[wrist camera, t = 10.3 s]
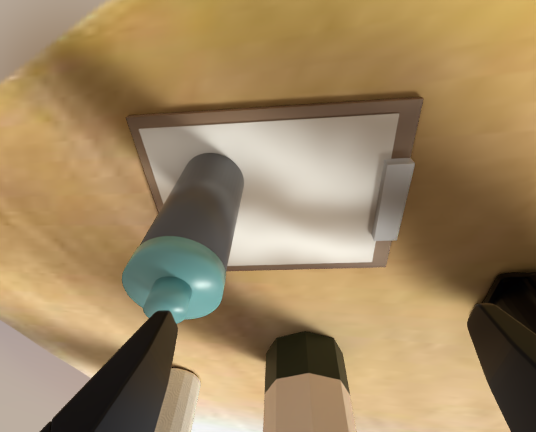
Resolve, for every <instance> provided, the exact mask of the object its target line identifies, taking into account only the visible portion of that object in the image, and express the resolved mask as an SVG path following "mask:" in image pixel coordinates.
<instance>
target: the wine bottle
mask: <svg viewBox="0 0 536 432" xmlns="http://www.w3.org/2000/svg"><path fill="white" fill-rule="evenodd" d="M263 432H357V431H356V426H355V420H354V414H353V409H352V403H351V398H350V392H349V387H348V381H347V375H346V370H345V364H344V359H343V354H342V352H341V350H340V348H339V347H338V345H337V343H336V341H335V340H334V338H330V337H326V336H322V335H318V334H314V333H310V332H306V331H305V332H300V333H296V334H292V335H288V336H283V337H279V338H276V340H275V341H274V343H273V344H272V346H271V347H270V349H269V350H268V351H267V353H266V373H265V399H264V424H263Z"/></svg>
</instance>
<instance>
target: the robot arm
mask: <svg viewBox="0 0 536 432" xmlns="http://www.w3.org/2000/svg"><path fill="white" fill-rule="evenodd" d="M467 327H468V330H469V333H470V336H471V339H472V342H473V344H474V347H475V350H476V353H477V355H478V358H479V361H480V364H481V366H482V369H483V372H484V375H485V377H486V380H487V382H488V384H489V387H490V389H491V391H492V393H493V395H494V397H495V399H496V402H497V404H498V406H499V408H500V410H501V412H502V414H503V416H504V418H505V420H506V422H507V424H508V426H509V428H510V431H511V432H536V272H533V273H503V274H500V275H499V276H498V277H497V278H496V280H495V282H494V284H493V285H492V287H491V289H490V291H489V293H488V295H487V296H486V298H485V300H484V302H483V303H479V304H476V305H475V306H474V308H473V310H472V312H471V314H470V316H469V319H468V321H467ZM177 333H178V328H177V324H176V322H175V320H174V317H173V315H172V313H171V312H170V311H169V310H159V311H156V312H155V313H154V314H153V315H152V316H151V317H150V318H149V319H148V320H147V321H146V322H145V323H144V324H143V325H142V326H141V327H140V328H139V329H138V330H137V331H136V332H135V333H134V335H133V336H132V337H131V338H130V339H129V340H128V341H127V342H126V343H125V344H124V345H123V346H122V347H121V348H120V349H119V350H118V351H117V352H116V353H115V354H114V355H113V356H112V357H111V358H110V359H109V360H108V362H107V363H106V364H105V365H104V366H103V367H102V368H101V369H100V370H99V371H98V372H97V373H96V374H95V375H94V376H93V377H92V378H91V379H90V380H89V381H88V382H87V383H86V384H85V385H84V387H83V388H82V389H81V390H80V391H79V392H78V393H77V394H76V395H75V396H74V397H73V398H72V399H71V400H70V401H69V402H68V403H67V404H66V405H65V406H64V407H63V408H62V409H61V411H59V413H57V414H56V416H55V417H54V418H53V419H52V422H49V423H48V424H47V425H46V426H45V427H44V428H43V429H42V430H41V431H40V432H155V428H156V425H157V421H158V418H159V414H160V411H161V407H162V404H163V400H164V397H165V393H166V390H167V386H168V382H169V377H170V372H171V367H172V361H173V355H174V350H175V344H176V339H177Z"/></svg>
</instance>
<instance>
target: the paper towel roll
mask: <svg viewBox="0 0 536 432" xmlns="http://www.w3.org/2000/svg"><path fill="white" fill-rule="evenodd" d="M200 386H201V383H200V380H199V378H198V377H197V376H196V375H195V374H193V373H191V372H189V371H186V370H183V369H178V368H171V372H170V377H169V382H168V386H167V390H166V393H165V397H164V400H163V404H162V407H161V411H160V414H159V418H158V421H157V425H156V428H155V432H191V429H192V424H193V419H194V414H195V410H196V405H197V400H198V395H199V390H200Z"/></svg>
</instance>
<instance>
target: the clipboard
mask: <svg viewBox="0 0 536 432" xmlns="http://www.w3.org/2000/svg"><path fill="white" fill-rule="evenodd" d="M422 104H423V98H422V97H413V98H397V99H382V100H366V101H350V102H335V103H319V104H303V105H287V106H272V107H256V108H240V109H225V110H209V111H193V112H178V113H162V114H146V115H130V116H127V117H126V120H127V123H128V126H129V129H130V132H131V134H132V137H133V140H134V143H135V146H136V149H137V152H138V154H139V157H140V160H141V163H142V166H143V169H144V172H145V175H146V177H147V180H148V183H149V186H150V189H151V192H152V195H153V198H154V200H155V203H156V206H157V209H158V212H160V210H161V208H162V206H163V205H164V203H165V201H166V200H167V198H168V196H169V194H170V193H171V191H172V189H173V187H174V186H175V184H176V182H177V181H178V179H179V177H180V175H181V174H182V172H183V170H184V169H185V167H186V165H187V164H188V162H189V161H190V160H191V159H192V158H194V157H195V156H197V155H200V154H204V153H217V154H221V155H223V156H226V157H228V158H229V159H231V160H232V161H233V162H234V163H235V164H236V165H237V166H238V167H239V168H240V170H241V172H242V174H243V178H244V188H243V193H242V198H241V202H240V207H239V212H238V217H237V222H236V227H235V231H234V236H233V241H232V246H231V251H230V256H229V260H228V265H227V270H226V271H254V270H293V269H332V268H371V267H386V264H387V259H388V255H389V251H390V246H391V242H392V240H397V238H398V233H399V229H400V225H401V221H402V217H403V212H404V208H405V204H406V200H407V196H408V191H409V187H410V183H411V179H412V175H413V170H414V166H415V163H414V162H413V160H412V159H411V158H410V157H411V153H412V148H413V144H414V139H415V135H416V130H417V126H418V122H419V117H420V113H421V108H422Z"/></svg>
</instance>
